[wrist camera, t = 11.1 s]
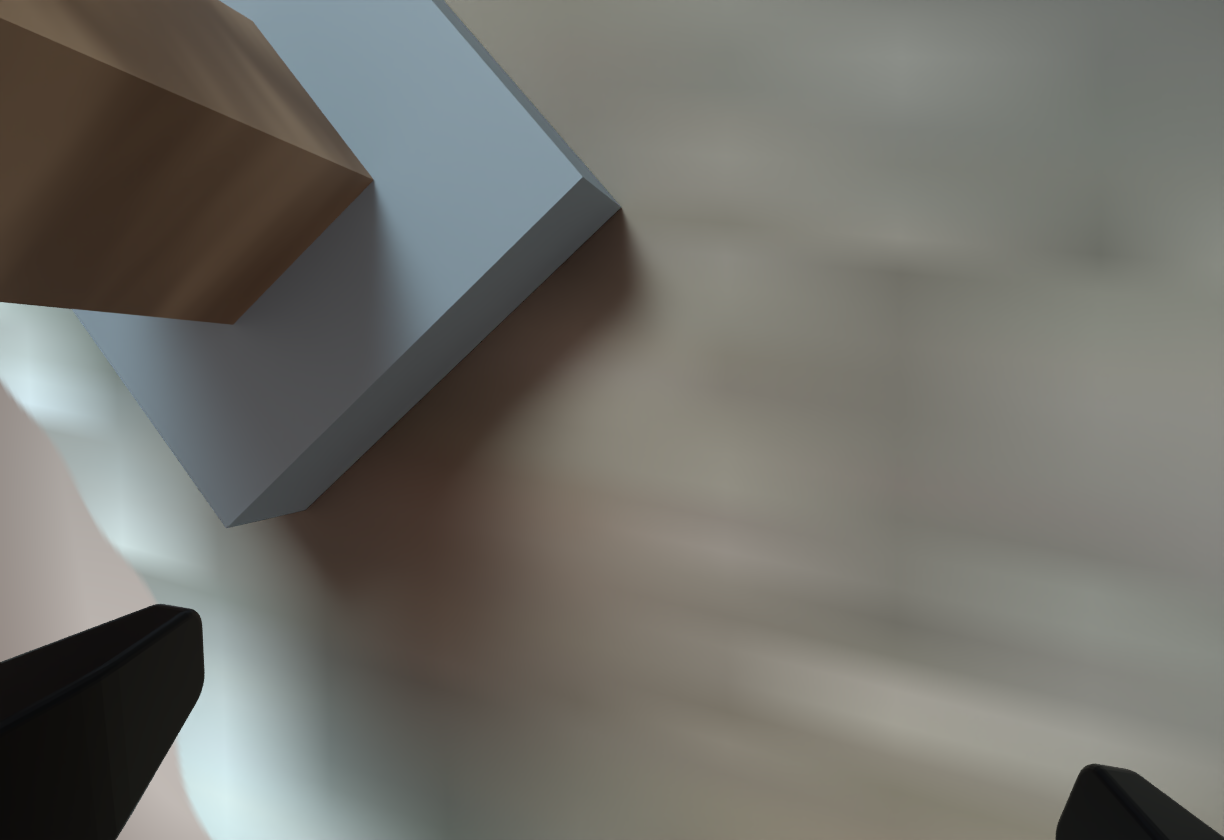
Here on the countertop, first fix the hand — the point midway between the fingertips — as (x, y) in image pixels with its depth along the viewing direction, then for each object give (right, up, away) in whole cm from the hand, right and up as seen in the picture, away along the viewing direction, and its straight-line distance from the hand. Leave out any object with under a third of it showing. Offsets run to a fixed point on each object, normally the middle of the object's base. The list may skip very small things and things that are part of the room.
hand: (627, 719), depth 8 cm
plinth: (-8, +9, +14) cm, 18 cm away
